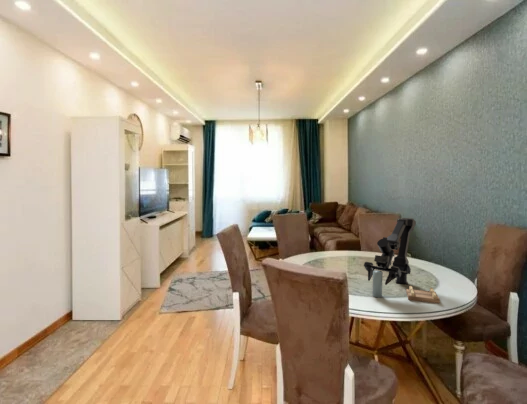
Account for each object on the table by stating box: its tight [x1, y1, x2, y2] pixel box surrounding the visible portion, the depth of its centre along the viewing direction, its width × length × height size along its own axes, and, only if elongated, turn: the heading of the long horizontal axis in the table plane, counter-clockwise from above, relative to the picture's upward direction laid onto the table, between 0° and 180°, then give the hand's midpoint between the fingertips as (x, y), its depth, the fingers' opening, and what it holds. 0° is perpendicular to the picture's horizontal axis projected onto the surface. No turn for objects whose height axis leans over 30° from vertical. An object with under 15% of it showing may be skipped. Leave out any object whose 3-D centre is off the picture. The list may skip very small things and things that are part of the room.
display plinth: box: [405, 285, 440, 304], centre depth 167 cm, size 12×14×4 cm
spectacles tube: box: [371, 269, 384, 299], centre depth 169 cm, size 5×5×13 cm
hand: (376, 282), depth 169 cm, fingers open, 9 cm apart
